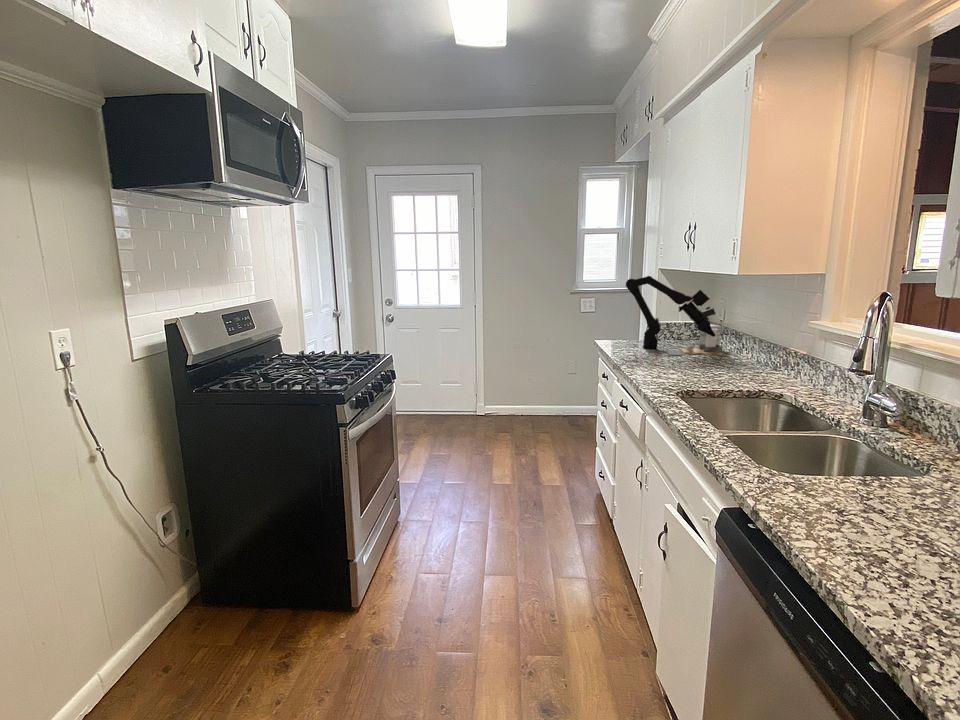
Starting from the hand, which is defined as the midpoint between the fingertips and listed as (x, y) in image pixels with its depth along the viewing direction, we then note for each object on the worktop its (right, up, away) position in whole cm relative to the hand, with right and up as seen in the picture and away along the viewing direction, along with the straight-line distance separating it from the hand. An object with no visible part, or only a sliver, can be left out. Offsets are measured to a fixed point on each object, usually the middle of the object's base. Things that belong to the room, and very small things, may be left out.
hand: (714, 335), depth 265 cm
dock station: (-6, -8, +2) cm, 11 cm away
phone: (-21, -10, -2) cm, 24 cm away
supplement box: (+3, -7, +13) cm, 14 cm away
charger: (-1, -6, +2) cm, 7 cm away
